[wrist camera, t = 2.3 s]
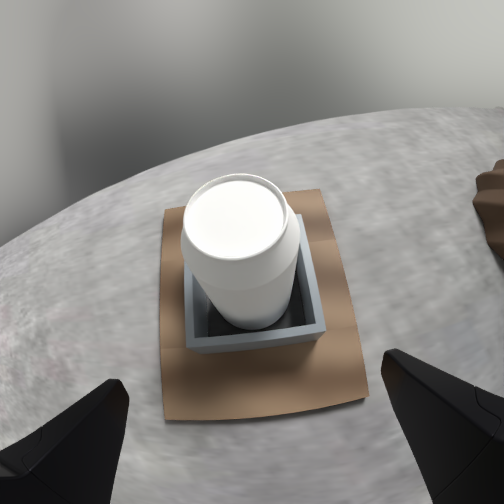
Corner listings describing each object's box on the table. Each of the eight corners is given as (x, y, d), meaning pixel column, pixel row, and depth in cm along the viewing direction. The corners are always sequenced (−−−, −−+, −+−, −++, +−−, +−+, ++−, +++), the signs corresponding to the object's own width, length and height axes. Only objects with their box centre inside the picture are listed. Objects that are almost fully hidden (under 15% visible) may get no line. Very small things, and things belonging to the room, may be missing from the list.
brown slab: (366, 396, 18) (369, 396, 17) (168, 418, 18) (164, 419, 18) (318, 193, 28) (319, 188, 27) (167, 214, 28) (164, 209, 27)
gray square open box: (316, 341, 21) (326, 330, 17) (202, 355, 21) (186, 347, 17) (297, 242, 25) (301, 213, 21) (198, 255, 25) (184, 229, 21)
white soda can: (304, 308, 22) (330, 231, 12) (238, 346, 21) (200, 301, 11) (266, 251, 25) (259, 149, 14) (204, 284, 24) (154, 198, 13)
